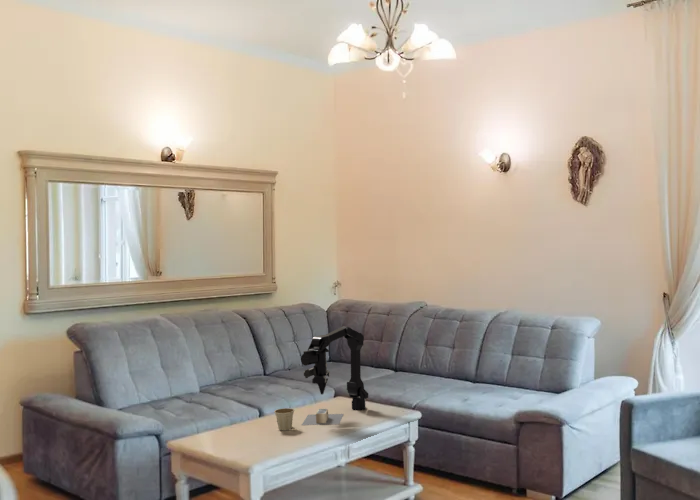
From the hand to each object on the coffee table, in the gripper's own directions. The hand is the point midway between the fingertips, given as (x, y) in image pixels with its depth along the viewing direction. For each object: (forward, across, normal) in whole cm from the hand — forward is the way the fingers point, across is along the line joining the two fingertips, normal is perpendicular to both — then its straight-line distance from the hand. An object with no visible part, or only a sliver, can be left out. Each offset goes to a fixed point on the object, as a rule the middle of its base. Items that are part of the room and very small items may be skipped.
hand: (322, 394), depth 338 cm
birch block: (+10, -3, 0) cm, 10 cm away
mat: (+13, 0, 0) cm, 13 cm away
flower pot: (+13, +14, -16) cm, 25 cm away
